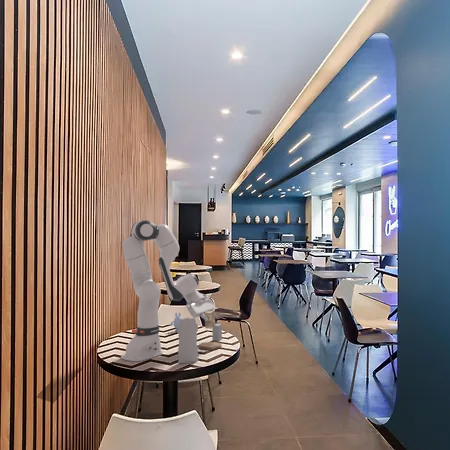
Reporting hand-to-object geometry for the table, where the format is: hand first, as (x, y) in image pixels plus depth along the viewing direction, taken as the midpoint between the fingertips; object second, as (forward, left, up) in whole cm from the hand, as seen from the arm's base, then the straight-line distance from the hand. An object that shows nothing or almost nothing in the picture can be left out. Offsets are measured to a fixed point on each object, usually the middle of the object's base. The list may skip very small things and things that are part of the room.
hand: (210, 319), depth 217 cm
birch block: (0, +1, -5) cm, 5 cm away
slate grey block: (+14, +5, -15) cm, 21 cm away
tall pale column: (-27, -4, -16) cm, 32 cm away
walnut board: (0, +1, -15) cm, 15 cm away
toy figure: (+21, +40, -16) cm, 48 cm away
